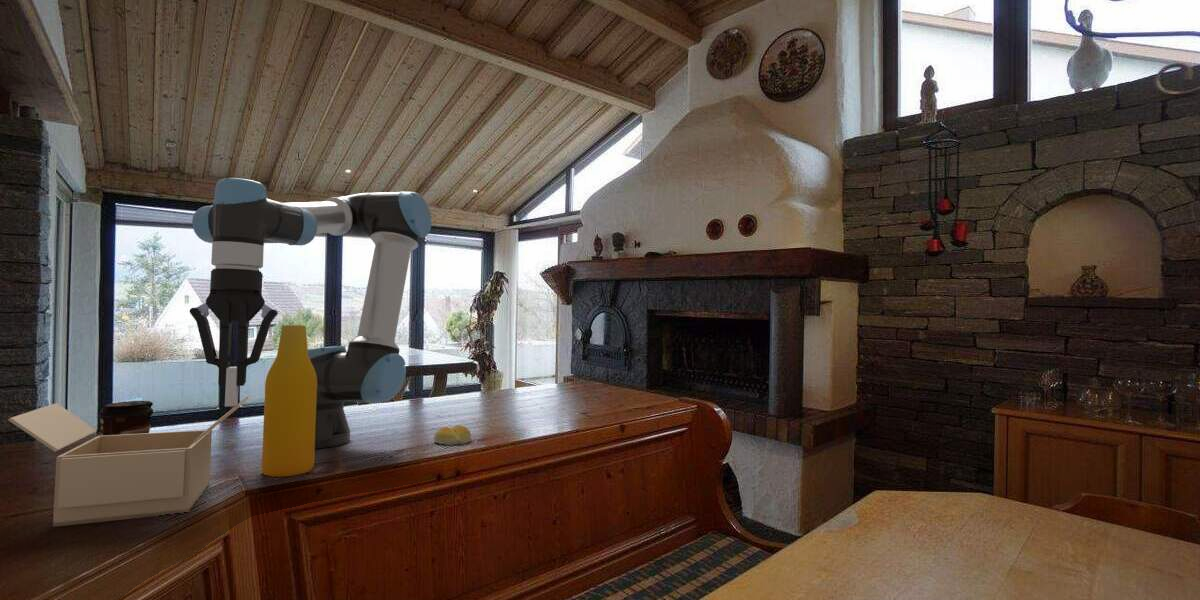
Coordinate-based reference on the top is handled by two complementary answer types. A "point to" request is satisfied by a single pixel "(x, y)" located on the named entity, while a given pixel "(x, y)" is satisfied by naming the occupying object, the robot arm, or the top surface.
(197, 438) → the flap
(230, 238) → the robot arm
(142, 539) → the top surface
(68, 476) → the carton
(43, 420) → the flap
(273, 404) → the beer bottle
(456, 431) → the bread roll
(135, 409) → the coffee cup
